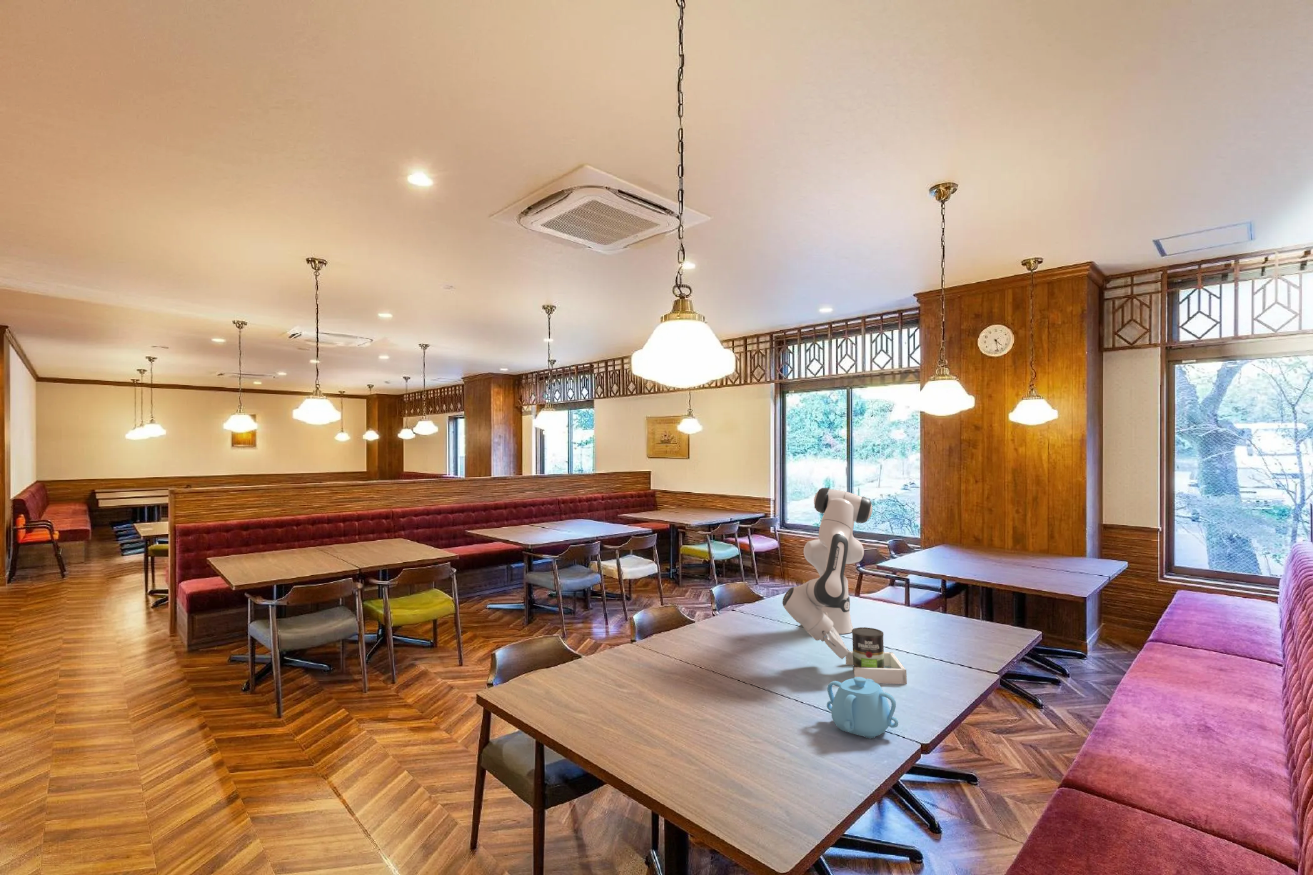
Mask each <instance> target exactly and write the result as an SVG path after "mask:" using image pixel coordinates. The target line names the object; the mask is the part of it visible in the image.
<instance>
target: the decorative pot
mask: <svg viewBox="0 0 1313 875" xmlns="http://www.w3.org/2000/svg"><path fill="white" fill-rule="evenodd" d="M833 686H837V687H838V689H837V690H836V693H835V694H834V692H833ZM826 689H827V694H828V697H829V700H828V701H827V703H826V708H827V709H828V711H829V712H831V719H832V721H833V723H834V724H835V726H836V727H837V728H838V729H840V731H842V732H844V731H846V732H845V733H849V734H853V735H856V736H860V737H864V736H865V737H864V738H866V739H868V738H873V739H875V738H874V737H877V736H880V735H882V734H884V733H885V732H886V731H887V730H888V729H889V727H890V728H892V729H894V728H897V727H898V726H899V719H897V718H896V717H895V716H894V714H895V711H896V708H897V703H896V699H895V697H894V696H893V695H891V694H890V693H888V692H885V691H884V690H883V688H882V687H881V685H880V683H875V682H874V681H873V680H872V679H865V678H862V677H853V678H849V679H846V680H844V681H843V682H842V681H841V682H840V681H839V680H834V681H830V682H829V683H828V684H827V688H826ZM889 701H890V704H891V706H890V704H889ZM892 721H893V722H892Z"/></svg>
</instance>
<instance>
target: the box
mask: <svg viewBox="0 0 1313 875" xmlns="http://www.w3.org/2000/svg"><path fill="white" fill-rule="evenodd" d="M849 651H850V652H851V653H852V655H853V650H852V651H851V650H849ZM845 665H846V666H853V658H852V659H848V658H847V657H846V656H845ZM886 667H889V668H886ZM853 673H854V677H853V678H855V677H862V678H865V679H872V680H873V681H874V682H875V683H877V684H888V685H889V684H891V685H895V684H896V685H907V684H908V678H907V675H908V673H907V668H905V667H904V665H903V664H902V662H900V660H899V659H898V657H897V656H896V655H895V654H894V652H892V651H891V652H890V651H889V652H888V651H884V668H860V667H854V672H853Z"/></svg>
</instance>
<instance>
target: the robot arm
mask: <svg viewBox="0 0 1313 875" xmlns="http://www.w3.org/2000/svg"><path fill="white" fill-rule="evenodd" d="M813 505H814V509H815V510H816V512H817V513H820V514H822V518H821V521H820V525H819V529H818V539H812V540H809V541H806V543H805V544H804V547H803V555H804V559H805V560H806V561H807V563H809V564H811V565H812V567H814V569H815V570H816V572H817V573H818V575H819V577H816V578H812V579H810V580H808V581H806V582H804V583H803V584H801V585H798V586H792V587H790V588H789V589H788V590H787V591H786V593H785V594H784V595H783V598H782V601H781V604H782V606H783V608H784V610H785V611H786V612H787V614H788V615H789V616H791V618H792V619H793V620H795V622H796V623H798V624H800V625H801V626H802V627H803V629H804V630H805V631H806V632H807V634H808V635H810V636H811V637H812V638H813V639H814V640H815V641H817V642H818V641H821V642H825V644H826V645H827V646H828V648H829V649H830V650H831V651H832V652H833V653H835V655H836V656H838V658H839V659H841V660H843V659H845V658H846V657H847V658H848V659H852V658H853V655H852V653H851V652H850V651H851V650H849V648H847V645H846V644H845V642H844V641H843V639H842V637H841V635H842V634H843V635H844V634H851V633H852V629H854V626H853V623H852V618H851V612H850V608H851V600H850V598H851V597H850V596H849V580H848V578H847V576H845V570H846V566H847V565H851V564H855V563H859V562H861V561H862V560H863V557H864V555H865V549H864V546H863V544H862V542H861V541H860V540H858V539H857V538H856V537H854V535H853V532H854V525H855V523H857V524H865V523H867V522H868V521H869V519H870V518H871V516H872V514H873V504H872V501H871V499H869V498H868V497H865V496H860V495H858V494H855V493H852V492H849V491H843V490H840V489H839V490H838V489H834V488H833V489H832V488H830V487H821V488H819V489H818V491H817V492H816V493H815V495H814V497H813ZM840 634H841V635H840Z"/></svg>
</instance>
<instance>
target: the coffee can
mask: <svg viewBox="0 0 1313 875" xmlns="http://www.w3.org/2000/svg"><path fill="white" fill-rule="evenodd" d="M851 634H852V635H851V636H852V651H853V665H852V667H853V668H852V669H853V670H852V672H853V673H854V667H860V668H885V666H884V652H885V651H884V632H883V631H882V630H880V629H877V628H873V627H866V626H865V627H853V629H852V632H851Z"/></svg>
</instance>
